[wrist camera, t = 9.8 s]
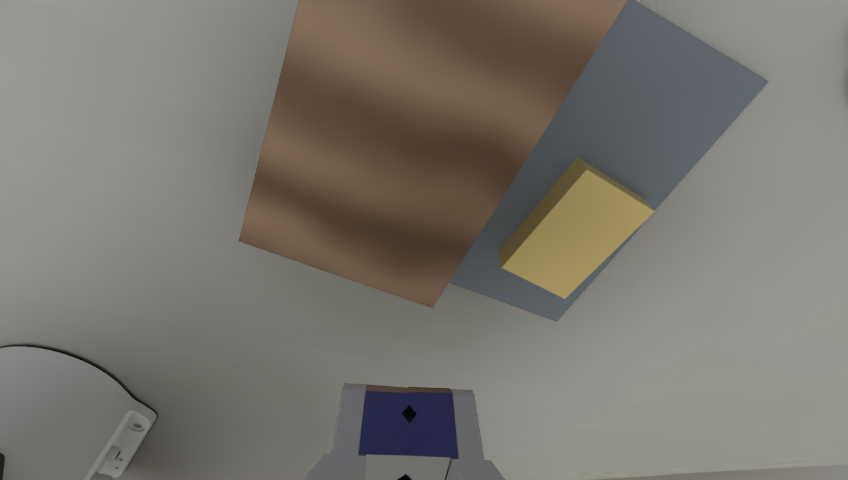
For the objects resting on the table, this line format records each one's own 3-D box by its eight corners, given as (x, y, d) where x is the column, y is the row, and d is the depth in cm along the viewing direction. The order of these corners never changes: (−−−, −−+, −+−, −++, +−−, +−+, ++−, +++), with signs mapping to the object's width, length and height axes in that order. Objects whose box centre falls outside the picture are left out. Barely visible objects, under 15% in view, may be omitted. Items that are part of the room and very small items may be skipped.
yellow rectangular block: (501, 267, 30) (497, 251, 32) (564, 298, 32) (558, 282, 34) (586, 169, 26) (577, 157, 28) (655, 211, 28) (641, 197, 29)
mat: (555, 318, 36) (556, 321, 36) (442, 277, 34) (443, 280, 34) (765, 80, 25) (768, 81, 25) (619, -8, 23) (621, -7, 22)
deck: (431, 273, 34) (432, 307, 30) (259, 210, 30) (238, 241, 27) (605, -17, 22) (635, -13, 19) (360, -164, 19) (346, -191, 16)
